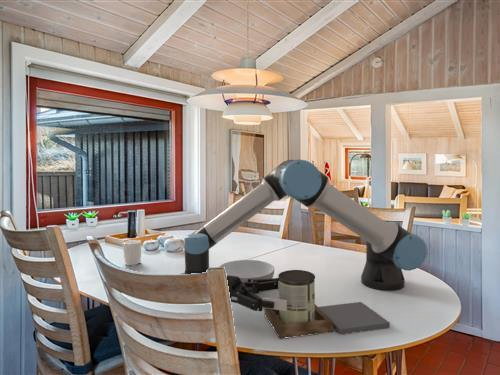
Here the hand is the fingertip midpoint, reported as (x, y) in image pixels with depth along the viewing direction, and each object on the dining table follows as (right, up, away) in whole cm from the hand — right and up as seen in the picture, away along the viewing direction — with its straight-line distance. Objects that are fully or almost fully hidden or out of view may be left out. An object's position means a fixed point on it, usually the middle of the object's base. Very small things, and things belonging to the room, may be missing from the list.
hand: (293, 296), depth 105 cm
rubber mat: (+17, -7, +3) cm, 19 cm away
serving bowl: (-14, -6, +32) cm, 35 cm away
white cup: (-65, -4, +63) cm, 91 cm away
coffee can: (+1, -8, +1) cm, 8 cm away
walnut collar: (+1, -8, +1) cm, 8 cm away
